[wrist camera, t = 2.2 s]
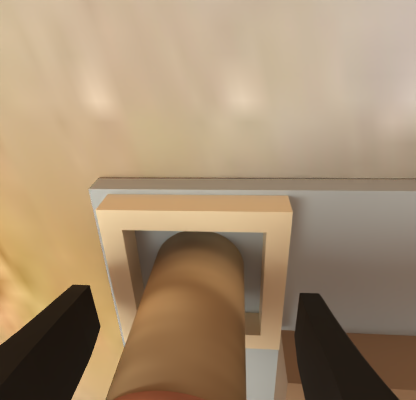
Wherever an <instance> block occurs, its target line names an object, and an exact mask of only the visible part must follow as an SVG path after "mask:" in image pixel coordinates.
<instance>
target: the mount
mask: <svg viewBox="0 0 416 400" xmlns="http://www.w3.org/2000/svg"><path fill="white" fill-rule="evenodd" d="M89 193H90V198H91V202H92V207H93V211H94V216H95V220H96V225H97V229H98V234H99V238H100V242H101V247H102V251H103V256H104V260H105V265H106V269H107V274H108V278H109V283H110V287H111V291H112V296H113V300H114V305H115V309H116V314H117V318H118V323H119V327H120V332H121V336H122V340H123V345H124V347H125V344H126V341H127V338H128V335H129V332H130V330H131V327H132V324H133V321H134V318H135V316H136V313H137V310H138V307H139V304H140V302H141V299H142V296H143V293H144V290H145V288H146V285H147V282H148V279H149V276H150V273H151V271H152V268H153V265H154V262H155V259H156V257H157V254H158V251H159V249H160V247H161V246H162V244H163V243H164V242H165V241H166V240H167V239H168V238H170V237H171V236H173V235H175V234H177V233H179V232H182V231H200V232H215V233H217V234H220V235H222V236H224V237H225V238H227V239H228V240H230V241H231V242H232V243H233V244H234V245H235V246H236V247H237V249H238V250H239V252H240V253H241V256H242V258H243V262H244V297H245V348H246V399H247V400H305V397H304V392H303V388H302V383H301V379H300V374H299V370H298V364H297V356H296V347H295V338H294V333H295V326H296V318H297V310H298V302H299V295H300V293H319V294H320V295H321V296H322V298H323V299H324V301H325V303H326V304H327V306H328V307H329V309H330V310H331V312H332V313H333V315H334V316H335V318H336V319H337V321H338V322H339V324H340V325H341V327H342V328H343V330H344V331H345V332H346V334H347V335H348V337H349V338H350V339H351V341H352V342H353V343H354V345H355V346H356V347H357V349H358V350H359V351H360V353H361V354H362V355H363V357H364V358H365V359H366V360H367V362H368V363H369V364H370V366H371V367H372V368H373V369H374V370H375V372H376V373H377V374H378V375H379V376H380V378H381V379H382V380H383V381H384V382H385V384H386V385H387V386H388V387H389V388H390V389H391V391H392V392H393V393H394V394H395V395H396V396H397V397H398V398H399V399H400V400H416V179H230V178H98V179H97V180H96V181H95V183H94V184H93V185H92V186H91V187H90V188H89Z"/></svg>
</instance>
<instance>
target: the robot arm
mask: <svg viewBox="0 0 416 400" xmlns="http://www.w3.org/2000/svg"><path fill="white" fill-rule="evenodd" d="M99 330H100V323H99V319H98V315H97V312H96V308H95V304H94V300H93V297H92V293H91V289H90V285H72V286H71V287H70V288H68V289H67V290H66V291H65V292H64V293H62V294H61V295H60V296H59V297H58V298H57V299H55V300H54V301H53V302H52V303H51V304H50V305H49V306H47V307H46V308H45V309H44V310H43V311H42V312H40V313H39V314H38V315H37V316H36V317H34V318H33V319H32V320H31V321H30V322H29V323H27V324H26V325H25V326H24V327H23V328H21V329H20V330H19V331H18V332H17V333H15V334H14V335H13V336H11V337H10V338H9V339H8V340H6V341H5V342H4V343H3V344H1V345H0V400H71V399H72V397H73V394H74V392H75V390H76V388H77V386H78V384H79V382H80V379H81V377H82V375H83V373H84V371H85V368H86V366H87V364H88V362H89V359H90V357H91V355H92V352H93V349H94V346H95V343H96V340H97V336H98V333H99ZM294 338H295V347H296V356H297V364H298V370H299V374H300V379H301V383H302V388H303V392H304V397H305V400H400V399H399V398H398V397H397V396H396V395H395V394H394V393H393V392H392V391H391V389H390V388H389V387H388V386H387V385H386V384H385V382H384V381H383V380H382V379H381V378H380V376H379V375H378V374H377V373H376V372H375V370H374V369H373V368H372V367H371V366H370V364H369V363H368V362H367V360H366V359H365V358H364V357H363V355H362V354H361V353H360V351H359V350H358V349H357V347H356V346H355V345H354V343H353V342H352V341H351V339H350V338H349V337H348V335H347V334H346V332H345V331H344V330H343V328H342V327H341V325H340V324H339V322H338V321H337V319H336V318H335V316H334V315H333V313H332V312H331V310H330V309H329V307H328V306H327V304H326V303H325V301H324V299H323V298H322V296H321V295H320V294H319V293H300V295H299V302H298V310H297V318H296V326H295V333H294Z"/></svg>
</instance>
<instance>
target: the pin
mask: <svg viewBox="0 0 416 400" xmlns="http://www.w3.org/2000/svg"><path fill="white" fill-rule="evenodd" d="M106 400H247V399H246V348H245V297H244V262H243V258H242V256H241V253H240V252H239V250H238V249H237V247H236V246H235V245H234V244H233V243H232V242H231V241H230V240H228V239H227V238H225V237H224V236H222V235H220V234H217V233H215V232H200V231H182V232H179V233H177V234H175V235H173V236H171V237H170V238H168V239H167V240H166V241H165V242H164V243H163V244H162V246H161V247H160V249H159V251H158V254H157V257H156V259H155V262H154V265H153V268H152V271H151V273H150V276H149V279H148V282H147V285H146V288H145V290H144V293H143V296H142V299H141V302H140V304H139V307H138V310H137V313H136V316H135V318H134V321H133V324H132V327H131V330H130V332H129V335H128V338H127V341H126V344H125V347H124V349H123V352H122V355H121V358H120V361H119V363H118V366H117V369H116V372H115V375H114V377H113V380H112V383H111V386H110V389H109V391H108V394H107V397H106Z"/></svg>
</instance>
